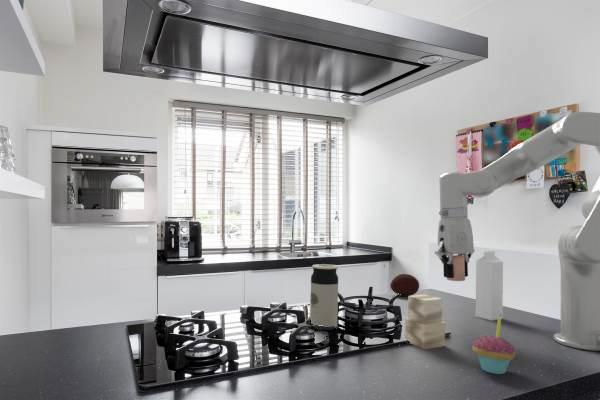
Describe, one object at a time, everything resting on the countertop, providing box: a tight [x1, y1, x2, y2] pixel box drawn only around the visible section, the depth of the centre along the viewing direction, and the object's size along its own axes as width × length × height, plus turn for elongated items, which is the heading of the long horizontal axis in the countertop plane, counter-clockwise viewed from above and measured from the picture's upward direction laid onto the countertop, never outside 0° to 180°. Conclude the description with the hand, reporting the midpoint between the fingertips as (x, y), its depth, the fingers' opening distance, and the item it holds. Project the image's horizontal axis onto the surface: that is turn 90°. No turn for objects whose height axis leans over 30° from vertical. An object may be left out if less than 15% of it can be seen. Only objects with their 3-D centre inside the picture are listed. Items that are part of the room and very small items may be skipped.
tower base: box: [404, 317, 446, 350], centre depth 105 cm, size 7×7×6 cm
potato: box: [390, 273, 420, 297], centre depth 167 cm, size 9×12×9 cm
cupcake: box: [471, 314, 516, 375], centre depth 88 cm, size 9×8×12 cm
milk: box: [475, 250, 504, 322], centre depth 135 cm, size 6×6×22 cm
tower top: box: [407, 294, 443, 325], centre depth 106 cm, size 6×6×6 cm
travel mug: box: [309, 263, 339, 328], centre depth 118 cm, size 8×8×18 cm
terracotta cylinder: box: [446, 254, 466, 282], centre depth 118 cm, size 5×5×7 cm
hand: (455, 276), depth 118 cm, fingers closed on terracotta cylinder, 5 cm apart
